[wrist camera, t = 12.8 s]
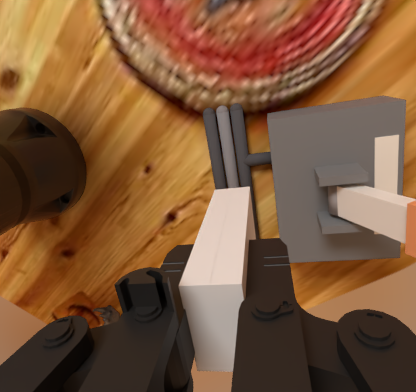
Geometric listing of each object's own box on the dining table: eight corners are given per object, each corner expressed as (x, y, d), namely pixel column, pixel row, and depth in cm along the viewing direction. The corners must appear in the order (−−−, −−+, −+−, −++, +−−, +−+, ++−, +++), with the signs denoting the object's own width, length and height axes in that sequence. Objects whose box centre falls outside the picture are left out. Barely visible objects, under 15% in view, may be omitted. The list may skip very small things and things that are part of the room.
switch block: (280, 237, 41) (283, 282, 32) (267, 113, 36) (267, 125, 27) (381, 231, 38) (414, 277, 29) (383, 95, 33) (424, 103, 24)
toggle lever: (323, 216, 31) (438, 267, 21) (321, 178, 30) (442, 213, 20) (341, 209, 32) (461, 256, 22) (340, 172, 31) (467, 203, 21)
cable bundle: (227, 252, 43) (226, 257, 42) (203, 108, 37) (200, 109, 35) (287, 248, 41) (287, 254, 40) (272, 96, 35) (272, 97, 34)
